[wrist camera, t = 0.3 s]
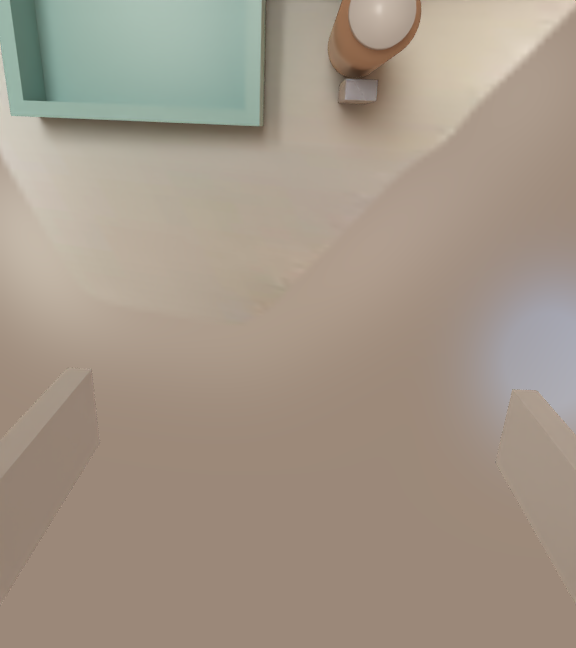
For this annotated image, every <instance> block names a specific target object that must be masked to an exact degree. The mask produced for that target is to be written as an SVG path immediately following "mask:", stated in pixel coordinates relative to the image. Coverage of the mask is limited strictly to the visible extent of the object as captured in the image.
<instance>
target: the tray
mask: <svg viewBox="0 0 576 648" xmlns="http://www.w3.org/2000/svg"><path fill="white" fill-rule="evenodd" d="M265 18H266V0H0V44H1V51H2V58H3V65H4V71H5V78H6V85H7V92H8V99H9V105H10V112H11V116H30V117H53V118H77V119H101V120H124V121H148V122H171V123H195V124H219V125H242V126H263V116H264V67H265Z"/></svg>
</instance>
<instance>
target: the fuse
mask: <svg viewBox="0 0 576 648" xmlns="http://www.w3.org/2000/svg"><path fill="white" fill-rule="evenodd" d="M420 17H421V2H420V0H342V3H341V6H340V9H339V11H338V14H337V17H336V20H335V23H334V26H333V29H332V32H331V35H330V38H329V41H328V55H329V59H330V62H331V64H332V66H333V67H334V68H335V70H336V71H337V72H339V73H340V74H341V75H343V76H345V77H348V78H361V77H364V76H366V75H368V74H369V73H371V72H372V71H374V70H375V69H377V68H378V67H379V66H381V65H382V64H384V63H385V62H386V61H388V60H389V59H391V58H392V57H393V56H395V55H396V54H398V53H399V52H400V51H402V50H403V49H404V48H405V47H406V46H407V45H408V44H409V43H410V41H411V40H412V39H413V37H414V35H415V33H416V31H417V29H418V26H419V22H420Z"/></svg>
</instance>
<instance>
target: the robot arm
mask: <svg viewBox="0 0 576 648" xmlns="http://www.w3.org/2000/svg"><path fill="white" fill-rule="evenodd" d="M99 444H100V439H99V430H98V422H97V412H96V403H95V394H94V386H93V377H92V369H80V368H67V369H66V370H65V371H64V372H63V373H62V374H61V375H60V376H59V377H58V378H57V379H56V381H54V383H53V384H52V385H51V386H50V387H49V388H48V389H47V390H46V391H45V392H44V393H43V394H42V395H41V397H40V398H39V399H38V400H37V401H36V402H35V403H34V404H33V405H32V406H31V407H30V408H29V409H28V411H27V412H26V413H25V414H24V415H23V416H22V417H21V418H20V419H19V420H18V421H17V422H16V423H15V425H14V426H13V427H12V428H11V429H10V430H9V431H8V432H7V433H6V434H5V435H4V436H3V437H2V439H1V440H0V605H1V603H2V602H3V600H4V599H5V597H6V595H7V594H8V592H9V591H10V589H11V587H12V586H13V584H14V582H15V581H16V579H17V577H18V576H19V574H20V572H21V571H22V569H23V568H24V566H25V564H26V563H27V561H28V560H29V558H30V556H31V555H32V553H33V551H34V550H35V548H36V546H37V545H38V543H39V542H40V540H41V538H42V537H43V535H44V534H45V532H46V530H47V529H48V527H49V525H50V524H51V522H52V521H53V519H54V517H55V516H56V514H57V512H58V511H59V509H60V508H61V506H62V504H63V503H64V501H65V499H66V498H67V496H68V494H69V493H70V491H71V490H72V488H73V486H74V485H75V483H76V481H77V480H78V478H79V477H80V475H81V473H82V472H83V470H84V468H85V467H86V465H87V464H88V462H89V460H90V459H91V457H92V455H93V454H94V452H95V450H96V449H97V447H98V446H99ZM495 463H496V465H497V467H498V468H499V470H500V472H501V474H502V475H503V477H504V479H505V481H506V482H507V484H508V486H509V488H510V490H511V491H512V493H513V495H514V497H515V498H516V500H517V502H518V504H519V505H520V507H521V509H522V511H523V512H524V514H525V516H526V518H527V520H528V521H529V523H530V525H531V527H532V528H533V530H534V532H535V534H536V536H537V537H538V539H539V541H540V543H541V544H542V546H543V548H544V549H545V551H546V553H547V555H548V557H549V559H550V560H551V562H552V564H553V566H554V567H555V569H556V571H557V573H558V574H559V576H560V578H561V580H562V582H563V583H564V585H565V587H566V589H567V590H568V592H569V594H570V596H571V597H572V599H573V601H574V603H575V604H576V435H575V434H574V433H573V431H572V430H571V429H570V428H569V427H568V426H567V424H566V423H565V422H564V421H563V420H562V419H561V418H560V416H558V414H557V413H556V412H555V411H554V410H553V409H552V407H551V406H550V405H549V404H548V403H547V401H546V400H545V399H544V398H543V397H542V396H541V395H540V393H539V392H538V391H536V390H515V389H514V390H512V393H511V398H510V402H509V406H508V410H507V415H506V419H505V423H504V427H503V432H502V437H501V440H500V444H499V449H498V453H497V457H496V461H495Z"/></svg>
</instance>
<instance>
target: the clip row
mask: <svg viewBox="0 0 576 648" xmlns="http://www.w3.org/2000/svg"><path fill="white" fill-rule="evenodd" d="M377 87H378V80H368V79H345V80H344V81H343V82H342V83H341V84H340V85H339V96H338V103H348V104H367V103H371V102H374V101H376V98H377Z"/></svg>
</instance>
